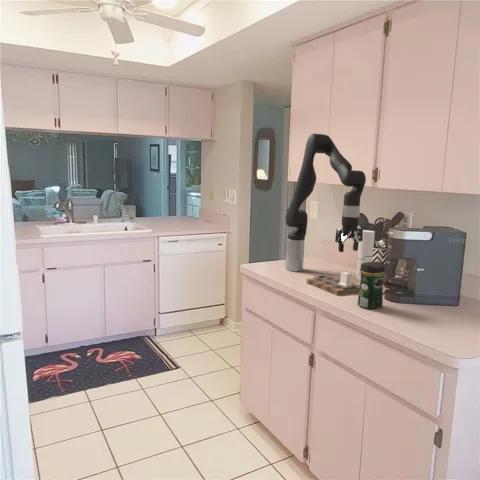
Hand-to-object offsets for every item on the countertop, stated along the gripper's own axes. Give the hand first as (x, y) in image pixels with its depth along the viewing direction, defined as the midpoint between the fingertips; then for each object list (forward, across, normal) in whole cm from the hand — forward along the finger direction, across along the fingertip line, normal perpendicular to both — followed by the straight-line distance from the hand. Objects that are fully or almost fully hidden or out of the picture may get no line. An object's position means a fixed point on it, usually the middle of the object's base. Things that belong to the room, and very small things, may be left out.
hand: (348, 251), depth 185 cm
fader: (+16, 0, 0) cm, 16 cm away
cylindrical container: (+19, -25, -13) cm, 34 cm away
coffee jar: (+19, +6, +21) cm, 29 cm away
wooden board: (+19, 0, -7) cm, 20 cm away
